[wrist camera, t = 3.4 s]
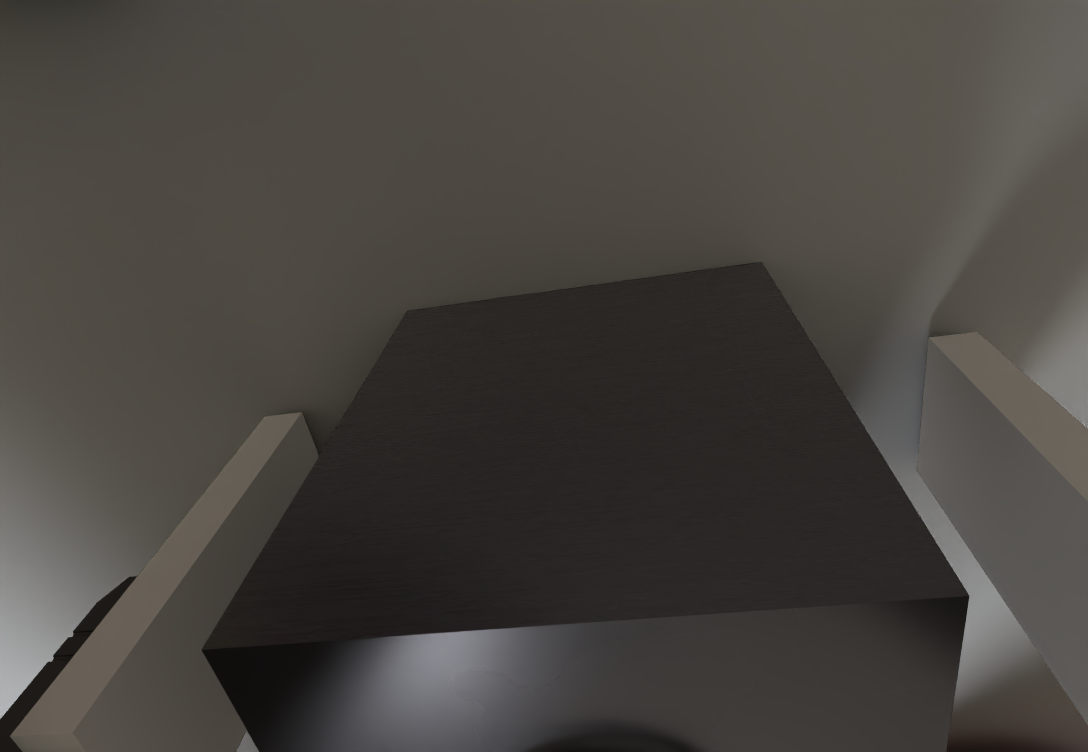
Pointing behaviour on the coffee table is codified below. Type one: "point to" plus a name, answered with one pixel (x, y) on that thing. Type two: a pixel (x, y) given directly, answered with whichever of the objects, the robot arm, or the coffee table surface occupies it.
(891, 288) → the coffee table surface
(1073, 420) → the robot arm
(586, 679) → the cube with silver knob
